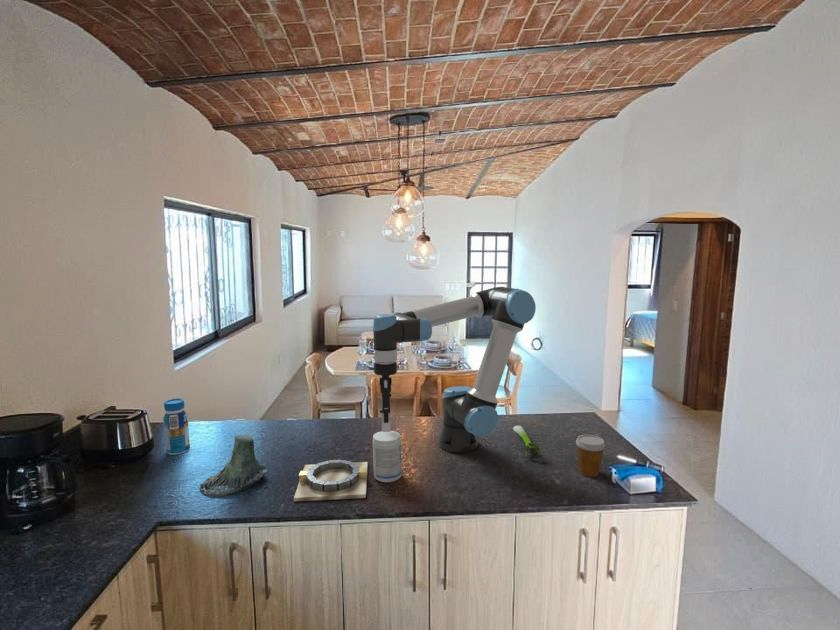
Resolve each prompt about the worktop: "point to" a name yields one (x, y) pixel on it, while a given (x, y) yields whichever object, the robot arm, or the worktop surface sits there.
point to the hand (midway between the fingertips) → (385, 423)
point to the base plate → (332, 475)
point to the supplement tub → (387, 456)
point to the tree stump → (236, 471)
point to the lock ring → (332, 485)
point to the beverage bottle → (176, 427)
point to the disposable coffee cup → (589, 454)
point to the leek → (526, 439)
